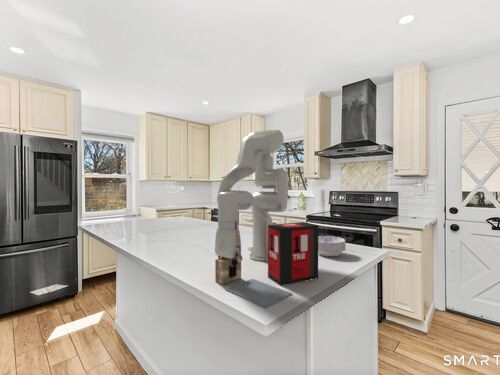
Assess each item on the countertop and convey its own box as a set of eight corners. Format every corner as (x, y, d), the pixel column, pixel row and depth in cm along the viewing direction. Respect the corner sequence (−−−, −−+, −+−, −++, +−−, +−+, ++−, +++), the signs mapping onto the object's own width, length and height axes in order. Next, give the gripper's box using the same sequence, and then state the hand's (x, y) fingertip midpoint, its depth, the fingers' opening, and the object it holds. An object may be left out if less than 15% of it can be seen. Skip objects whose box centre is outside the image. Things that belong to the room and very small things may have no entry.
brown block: (215, 281, 95) (215, 259, 95) (234, 275, 102) (234, 254, 101) (222, 284, 92) (222, 261, 92) (241, 277, 99) (241, 256, 99)
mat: (225, 289, 88) (225, 288, 88) (252, 279, 97) (252, 278, 97) (265, 308, 75) (265, 306, 75) (292, 294, 84) (292, 293, 84)
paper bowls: (313, 257, 127) (313, 241, 127) (313, 249, 141) (313, 235, 141) (347, 259, 123) (347, 242, 123) (343, 251, 138) (343, 236, 138)
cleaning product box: (303, 271, 107) (303, 222, 106) (318, 278, 99) (318, 225, 98) (267, 277, 100) (268, 224, 99) (280, 285, 92) (280, 228, 91)
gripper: (206, 224, 100) (206, 272, 100) (236, 229, 88) (236, 284, 88) (221, 221, 105) (222, 267, 105) (251, 227, 93) (251, 278, 94)
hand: (228, 274), depth 97 cm, fingers closed on brown block, 4 cm apart
